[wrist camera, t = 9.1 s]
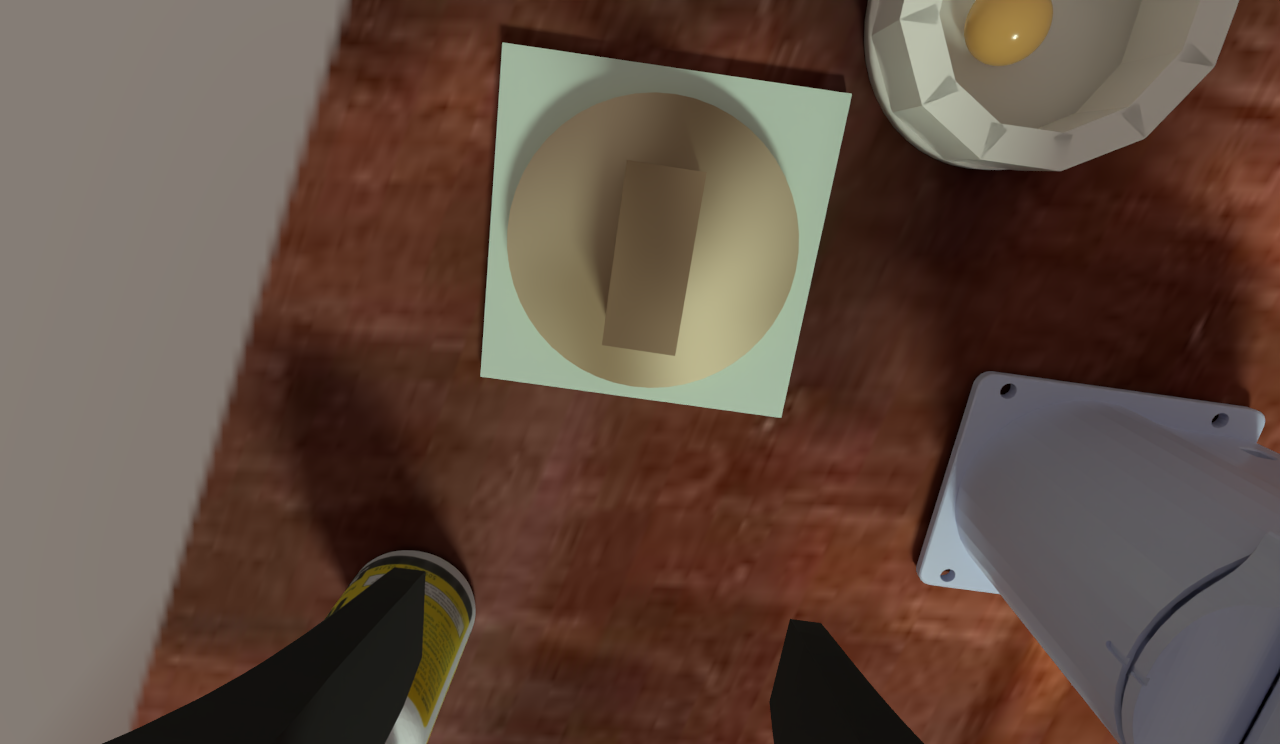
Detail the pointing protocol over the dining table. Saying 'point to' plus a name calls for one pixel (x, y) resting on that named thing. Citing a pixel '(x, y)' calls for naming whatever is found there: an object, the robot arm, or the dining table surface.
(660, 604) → the dining table surface
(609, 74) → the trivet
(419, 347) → the dining table surface
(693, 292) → the lid
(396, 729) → the supplement bottle
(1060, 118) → the bowl
